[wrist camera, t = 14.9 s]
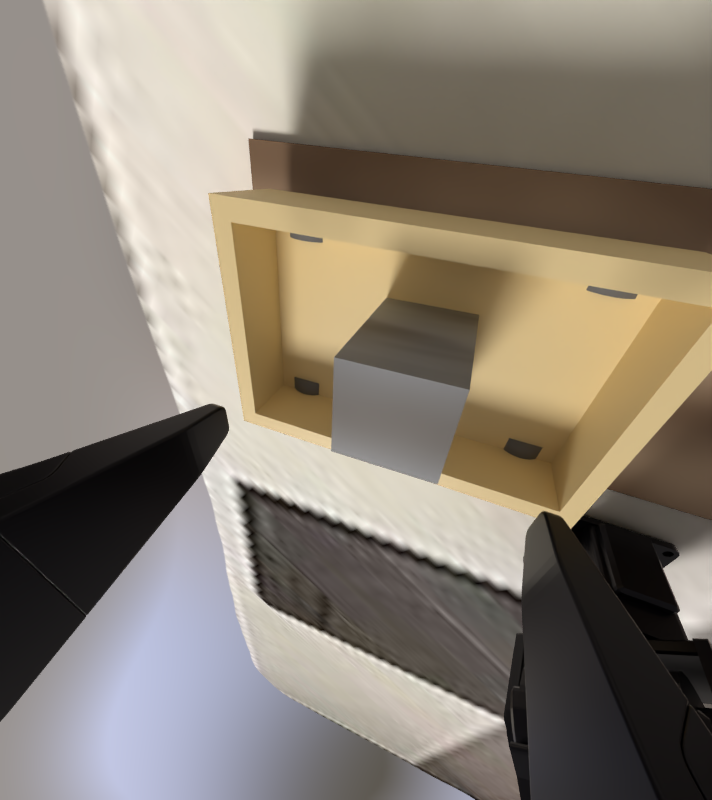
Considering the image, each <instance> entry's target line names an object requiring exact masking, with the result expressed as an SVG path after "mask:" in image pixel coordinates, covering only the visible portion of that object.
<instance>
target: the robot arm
mask: <svg viewBox="0 0 712 800" xmlns="http://www.w3.org/2000/svg"><path fill="white" fill-rule="evenodd" d="M228 431H229V424H228V419H227V414H226V410H225V408H224V407H222V406H219V405H216V404H208V405H205V406H202V407H199V408H196V409H193V410H190V411H187V412H185V413H182V414H179V415H176V416H173V417H170V418H167V419H165V420H161V421H159V422H155V423H152V424H149V425H147V426H144V427H141V428H138V429H135V430H132V431H129V432H126V433H123V434H120V435H117V436H114V437H111V438H109V439H106V440H103V441H100V442H97V443H94V444H91V445H88V446H85V447H82V448H79V449H76V450H74V451H72V452H67V453H64V454H62V455H59V456H56V457H53V458H50V459H47V460H44V461H41V462H38V463H35V464H32V465H28V466H25V467H22V468H19V469H15V470H12V471H9V472H5V473H2V474H0V721H1V720H2V719H3V718H4V717H5V716H6V715H7V713H8V712H9V711H10V710H11V709H12V708H13V706H14V705H15V704H16V703H17V701H18V700H19V699H20V698H21V696H22V695H23V694H24V693H25V692H26V690H27V689H28V688H29V686H30V685H31V684H32V683H33V682H34V680H35V679H36V678H37V676H38V675H39V674H40V673H41V672H42V670H43V669H44V668H45V667H46V665H47V664H48V663H49V662H50V661H51V659H52V658H53V657H54V656H55V654H56V653H57V652H58V651H59V650H60V648H61V647H62V646H63V645H64V643H65V642H66V640H68V638H69V637H70V636H71V635H72V634H73V632H74V631H75V630H76V628H77V627H78V626H79V625H80V624H81V622H82V621H83V620H84V619H85V617H86V615H87V614H88V613H89V612H90V611H91V610H92V608H93V607H94V606H95V605H96V603H97V602H98V601H99V600H100V599H101V597H102V596H103V595H104V594H105V592H106V591H107V590H108V589H109V588H110V586H111V585H112V584H113V583H114V581H115V580H116V579H117V578H118V576H119V575H120V574H121V573H122V571H123V570H124V569H125V568H126V567H127V565H128V564H129V563H130V561H131V560H132V559H133V558H134V557H135V555H136V554H137V553H138V552H139V550H140V549H141V548H142V547H143V545H144V544H145V543H146V542H147V541H148V539H149V538H150V537H151V536H152V534H153V533H154V532H155V531H156V530H157V528H158V527H159V526H160V525H161V523H162V522H163V521H164V520H165V518H166V517H167V516H168V515H169V513H170V512H171V511H172V510H173V509H174V507H175V506H176V505H177V504H178V502H179V501H180V500H181V499H182V497H183V496H184V495H185V494H186V492H187V491H188V490H189V489H190V488H191V486H192V485H193V484H194V483H195V481H196V480H197V479H198V477H199V476H200V475H201V473H202V472H203V471H204V469H205V468H206V466H207V465H208V463H209V462H210V460H211V459H212V457H213V456H214V454H215V452H216V451H217V449H218V448H219V446H220V445H221V443H222V442H223V440H224V439H225V437H226V436H227V434H228ZM678 557H679V552H678V550H677V548H676V547H675V545H673V544H670V543H667V542H664V541H661V540H658V539H655V538H652V537H649V536H645V535H642V534H639V533H636V532H633V531H630V530H627V529H624V528H620V527H617V526H614V525H611V524H608V523H605V522H602V521H599V520H596V519H592V518H589V517H586V516H582V517H581V518H580V519H579V520H578V522H577V523H576V524H575V525H574V526H573V527H572V528H571V529H570V527H569V526H568V524H567V523H566V521H565V520H564V519H563V518H562V517H561V516H559V515H556V514H553V513H550V512H547V511H542V512H541V513H540V514H539V515H538V516H537V518H536V519H535V520H534V522H533V523H532V524H531V526H530V527H529V529H528V531H527V534H526V541H525V555H524V557H523V562H524V569H523V583H522V623H523V633H517V634H516V641H515V647H514V652H513V659H512V665H511V672H510V678H509V685H508V692H507V698H506V705H505V711H504V721H505V725H506V729H507V737H508V742H509V747H510V751H511V755H512V759H513V763H514V767H515V771H516V775H517V780H518V785H519V791H520V797H521V800H712V709H711V708H705V707H704V705H703V703H706V704H712V645H711V643H710V642H709V640H708V639H701V638H692V639H693V641H690V640H688V639H687V636H686V634H685V631H684V629H683V626H682V624H681V621H680V619H679V617H678V614H677V613H678V612H679V611H680V609H679V606H678V604H677V601H676V599H675V596H674V594H673V592H672V589H671V587H670V584H669V582H668V580H667V577H666V575H665V572H664V570H663V568H664V567H665V566H667V565H668V564H669V563H671V562H672V561H673V560H675V559H676V558H678Z"/></svg>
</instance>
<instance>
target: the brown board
mask: <svg viewBox="0 0 712 800" xmlns="http://www.w3.org/2000/svg"><path fill="white" fill-rule="evenodd" d="M249 150H250V161H251V173H252V184H253V190H259V189H275V190H282V191H289V192H296V193H303V194H310V195H317V196H323V197H330V198H337V199H344V200H351V201H358V202H365V203H371V204H378V205H385V206H392V207H399V208H406V209H413V210H419V211H426V212H433V213H440V214H447V215H454V216H461V217H467V218H474V219H481V220H488V221H495V222H502V223H509V224H515V225H522V226H529V227H536V228H543V229H550V230H556V231H563V232H570V233H577V234H584V235H591V236H598V237H604V238H611V239H618V240H625V241H632V242H639V243H646V244H652V245H659V246H666V247H673V248H680V249H687V250H694V251H700V252H706V253H709V254H711V255H712V189H707V188H698V187H689V186H680V185H670V184H661V183H652V182H643V181H634V180H624V179H615V178H606V177H597V176H588V175H578V174H569V173H560V172H551V171H542V170H533V169H523V168H514V167H505V166H496V165H487V164H477V163H468V162H459V161H450V160H441V159H431V158H422V157H413V156H404V155H395V154H386V153H376V152H367V151H358V150H349V149H340V148H330V147H321V146H312V145H303V144H294V143H285V142H275V141H266V140H257V139H249ZM607 489H610V490H613V491H616V492H620V493H623V494H626V495H630V496H633V497H636V498H640V499H643V500H646V501H650V502H653V503H656V504H660V505H663V506H666V507H670V508H673V509H676V510H680V511H683V512H686V513H690V514H693V515H696V516H700V517H703V518H706V519H710V520H712V371H711V372H710V373H709V374H708V375H707V376H706V378H705V379H704V380H703V381H702V382H701V383H700V384H699V385H698V387H697V388H696V389H695V390H694V391H693V392H692V393H691V394H690V396H689V397H688V398H687V399H686V400H685V401H684V402H683V403H682V405H681V406H680V407H679V408H678V409H677V410H676V411H675V412H674V414H673V415H672V416H671V417H670V418H669V419H668V420H667V421H666V423H665V424H664V425H663V426H662V427H661V428H660V429H659V430H658V432H657V433H656V434H655V435H654V436H653V437H652V438H651V439H650V441H649V442H648V443H647V444H646V445H645V446H644V447H643V448H642V450H641V451H640V452H639V453H638V454H637V455H636V456H635V457H634V459H633V460H632V461H631V462H630V463H629V464H628V465H627V466H626V468H625V469H624V470H623V471H622V472H621V473H620V474H619V475H618V477H617V478H616V479H615V480H614V481H613V482H612V483H611V484H610V486H609V487H608V488H607Z"/></svg>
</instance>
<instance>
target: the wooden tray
mask: <svg viewBox="0 0 712 800" xmlns="http://www.w3.org/2000/svg"><path fill="white" fill-rule="evenodd" d="M208 195H209V201H210V207H211V214H212V220H213V226H214V233H215V239H216V245H217V252H218V258H219V264H220V271H221V277H222V283H223V290H224V296H225V302H226V309H227V315H228V321H229V328H230V334H231V340H232V347H233V353H234V359H235V366H236V372H237V378H238V385H239V391H240V397H241V404H242V410H243V416H244V421H247V422H250V423H253V424H256V425H259V426H262V427H265V428H268V429H271V430H274V431H277V432H280V433H283V434H286V435H289V436H292V437H295V438H298V439H301V440H304V441H307V442H310V443H313V444H316V445H319V446H322V447H325V448H328V449H331V440H332V407H333V373H334V357H335V356H336V354H337V353H338V352H339V351H340V350H341V349H342V348H343V346H344V345H345V344H346V343H347V342H348V341H349V340H350V339H351V337H352V336H353V335H354V334H355V333H356V332H357V331H358V329H359V328H360V327H361V326H362V325H363V324H364V323H365V322H366V320H367V319H368V318H369V317H370V316H371V315H372V314H373V312H374V311H375V310H376V309H377V308H378V307H379V306H380V305H381V303H382V302H383V301H384V300H385V299H386V298H392V299H397V300H402V301H408V302H413V303H419V304H424V305H429V306H435V307H440V308H446V309H451V310H456V311H462V312H467V313H473V314H478V315H479V321H478V329H477V337H476V345H475V352H474V360H473V368H472V376H471V384H470V391H469V393H468V396H467V399H466V402H465V405H464V408H463V411H462V414H461V417H460V420H459V423H458V426H457V429H456V432H455V435H454V438H453V441H452V444H451V447H450V450H449V452H448V455H447V458H446V461H445V464H444V467H443V470H442V473H441V476H440V479H439V482H438V485H440V486H443V487H446V488H449V489H452V490H455V491H458V492H461V493H464V494H467V495H470V496H473V497H476V498H479V499H482V500H485V501H488V502H491V503H494V504H497V505H500V506H503V507H506V508H509V509H512V510H515V511H518V512H521V513H524V514H527V515H530V516H533V517H536V518H537V516H538V515H539V514H540V513H541V512H542V511H547V512H550V513H553V514H556V515H559V516H561V517H562V518H563V519H564V520H565V521H566V523H567V524H568V526H569V527H570V529H571V528H572V527H573V526H574V525H575V524H576V523H577V522H578V520H579V519H580V518H581V517H582V516H583V515H584V514H585V513H586V511H587V510H588V509H589V508H590V507H591V506H592V505H593V504H594V502H595V501H596V500H597V499H598V498H599V497H600V496H601V495H602V493H603V492H604V491H605V490H606V489H607V488H608V487H609V486H610V484H611V483H612V482H613V481H614V480H615V479H616V478H617V477H618V475H619V474H620V473H621V472H622V471H623V470H624V469H625V468H626V466H627V465H628V464H629V463H630V462H631V461H632V460H633V459H634V457H635V456H636V455H637V454H638V453H639V452H640V451H641V450H642V448H643V447H644V446H645V445H646V444H647V443H648V442H649V441H650V439H651V438H652V437H653V436H654V435H655V434H656V433H657V432H658V430H659V429H660V428H661V427H662V426H663V425H664V424H665V423H666V421H667V420H668V419H669V418H670V417H671V416H672V415H673V414H674V412H675V411H676V410H677V409H678V408H679V407H680V406H681V405H682V403H683V402H684V401H685V400H686V399H687V398H688V397H689V396H690V394H691V393H692V392H693V391H694V390H695V389H696V388H697V387H698V385H699V384H700V383H701V382H702V381H703V380H704V379H705V378H706V376H707V375H708V374H709V373H710V372H711V371H712V255H711V254H709V253H706V252H700V251H694V250H687V249H680V248H673V247H666V246H659V245H652V244H646V243H639V242H632V241H625V240H618V239H611V238H604V237H598V236H591V235H584V234H577V233H570V232H563V231H556V230H550V229H543V228H536V227H529V226H522V225H515V224H509V223H502V222H495V221H488V220H481V219H474V218H467V217H461V216H454V215H447V214H440V213H433V212H426V211H419V210H413V209H406V208H399V207H392V206H385V205H378V204H371V203H365V202H358V201H351V200H344V199H337V198H330V197H323V196H317V195H310V194H303V193H296V192H289V191H282V190H275V189H259V190H245V191H232V192H218V193H208Z"/></svg>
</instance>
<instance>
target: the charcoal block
mask: <svg viewBox="0 0 712 800" xmlns="http://www.w3.org/2000/svg"><path fill="white" fill-rule="evenodd" d="M478 321H479V315H478V314H473V313H467V312H462V311H456V310H451V309H446V308H440V307H435V306H429V305H424V304H419V303H413V302H408V301H402V300H397V299H392V298H386V299H385V300H384V301H383V302H382V303H381V305H380V306H379V307H378V308H377V309H376V310H375V311H374V312H373V314H372V315H371V316H370V317H369V318H368V319H367V320H366V322H365V323H364V324H363V325H362V326H361V327H360V328H359V329H358V331H357V332H356V333H355V334H354V335H353V336H352V337H351V339H350V340H349V341H348V342H347V343H346V344H345V345H344V346H343V348H342V349H341V350H340V351H339V352H338V353H337V354H336V356H335V357H334V373H333V407H332V440H331V451H333V452H336V453H339V454H342V455H345V456H349V457H352V458H355V459H358V460H361V461H364V462H368V463H371V464H374V465H377V466H380V467H383V468H387V469H390V470H393V471H396V472H399V473H403V474H406V475H409V476H412V477H415V478H418V479H422V480H425V481H428V482H431V483H434V484H437V485H438V482H439V479H440V476H441V473H442V470H443V467H444V464H445V461H446V458H447V455H448V452H449V450H450V447H451V444H452V441H453V438H454V435H455V432H456V429H457V426H458V423H459V420H460V417H461V414H462V411H463V408H464V405H465V402H466V399H467V396H468V393H469V391H470V384H471V376H472V368H473V360H474V352H475V345H476V337H477V329H478Z"/></svg>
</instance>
